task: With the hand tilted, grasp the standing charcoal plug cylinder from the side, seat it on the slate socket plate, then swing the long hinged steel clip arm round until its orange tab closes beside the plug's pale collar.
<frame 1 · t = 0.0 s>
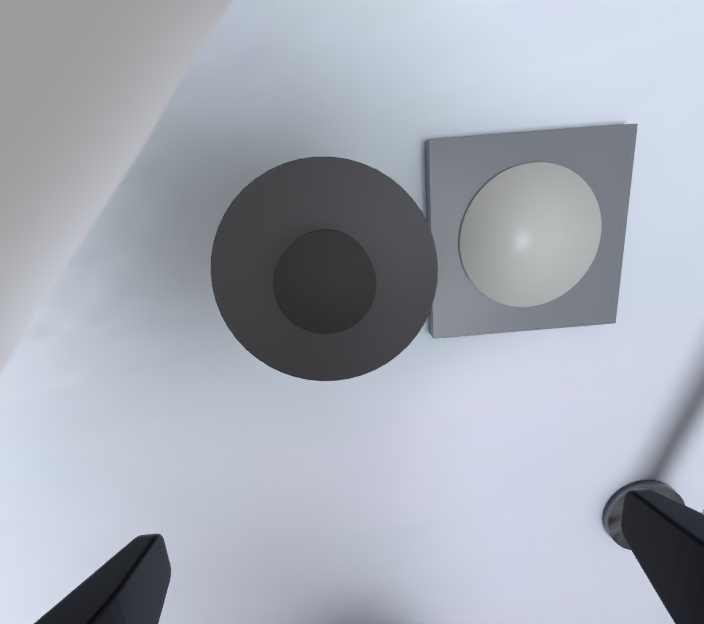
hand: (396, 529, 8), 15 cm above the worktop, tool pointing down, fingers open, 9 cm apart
socket: (521, 236, 21), on the worktop
grey flanged disc: (640, 512, 26), on the worktop
plug: (331, 232, 21), on the worktop
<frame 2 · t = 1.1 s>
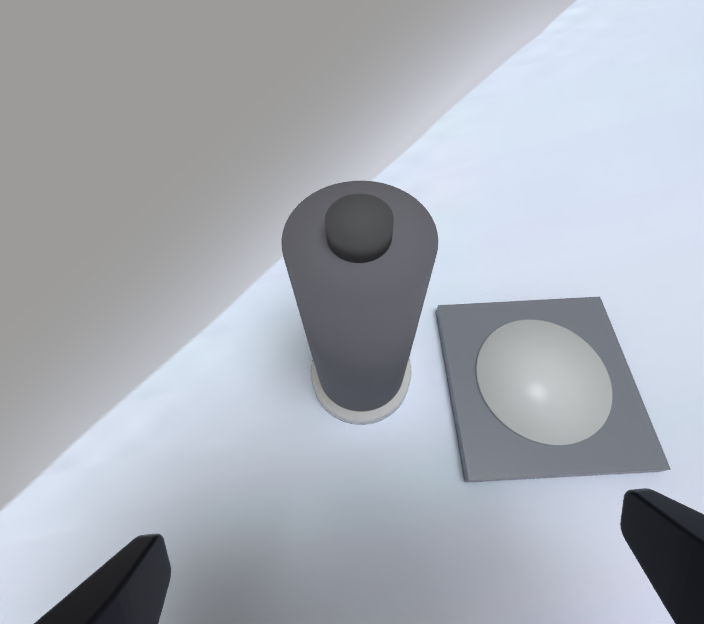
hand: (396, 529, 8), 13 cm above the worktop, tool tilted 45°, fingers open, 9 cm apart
socket: (536, 383, 23), on the worktop
plug: (361, 376, 23), on the worktop
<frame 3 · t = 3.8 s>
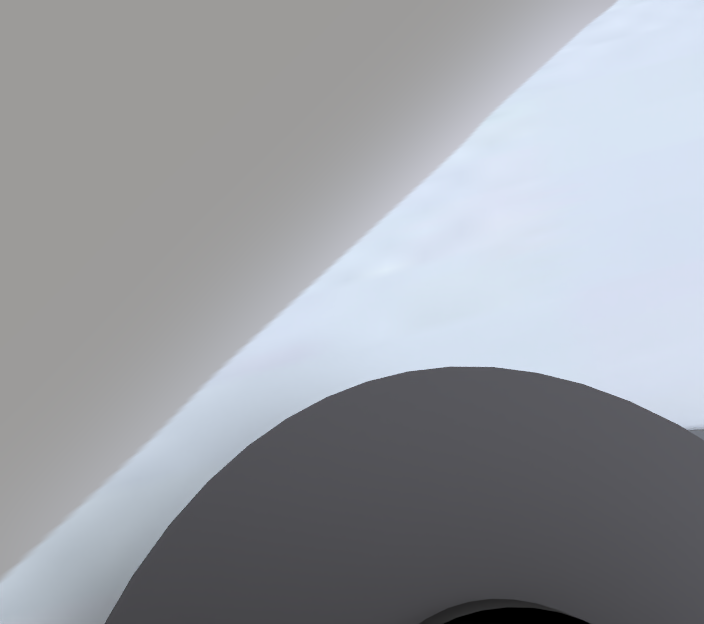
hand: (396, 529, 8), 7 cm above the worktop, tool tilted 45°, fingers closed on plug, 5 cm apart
plug: (387, 580, 13), on the worktop, touching gripper
when the fingers open (8 cm above the worktop, at t = 7.1 s): plug stays where it is, resting on socket.
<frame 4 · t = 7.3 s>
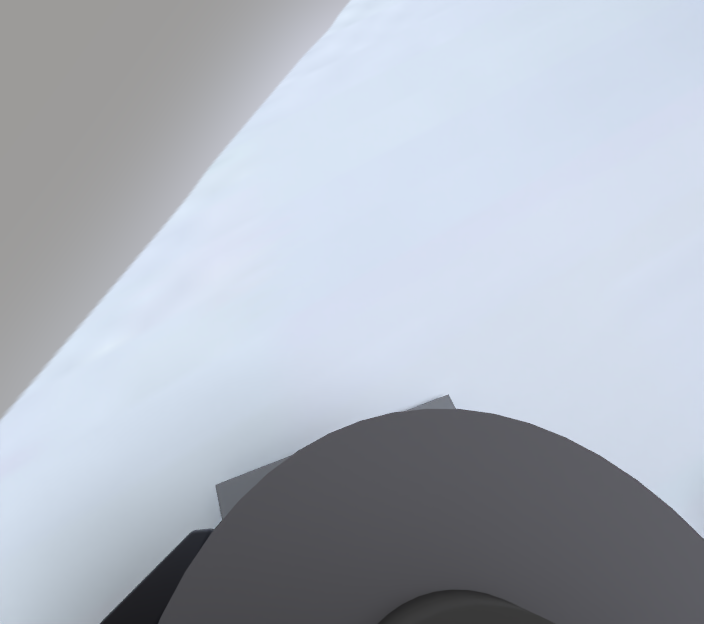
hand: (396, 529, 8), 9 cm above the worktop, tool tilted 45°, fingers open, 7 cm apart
socket: (384, 573, 14), on the worktop
plug: (386, 581, 14), point 1 cm above the worktop, touching socket
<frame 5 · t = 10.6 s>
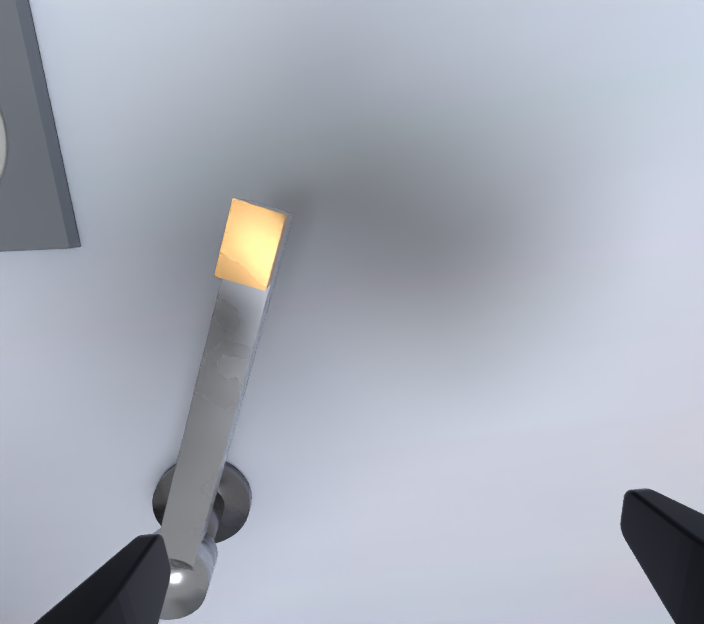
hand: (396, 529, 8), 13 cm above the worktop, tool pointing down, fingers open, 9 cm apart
clip arm: (207, 435, 15), point 5 cm above the worktop, hinge at -45.0°
grey flanged disc: (204, 497, 22), on the worktop
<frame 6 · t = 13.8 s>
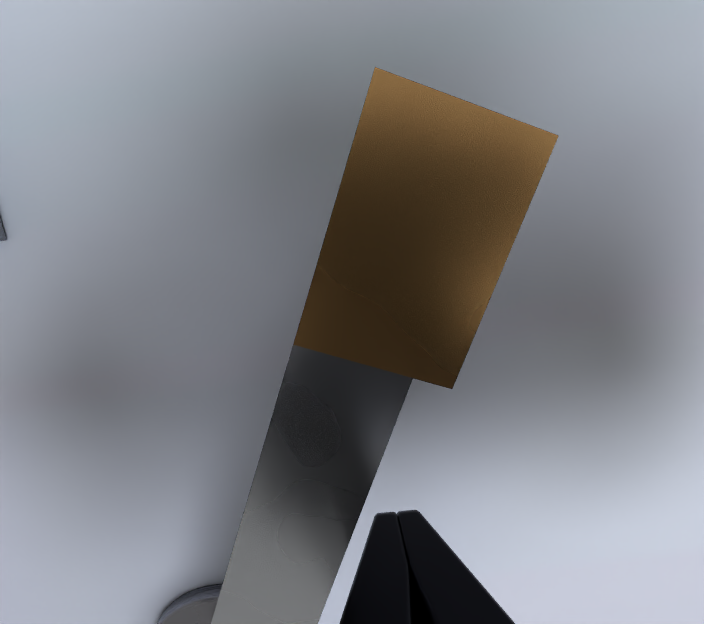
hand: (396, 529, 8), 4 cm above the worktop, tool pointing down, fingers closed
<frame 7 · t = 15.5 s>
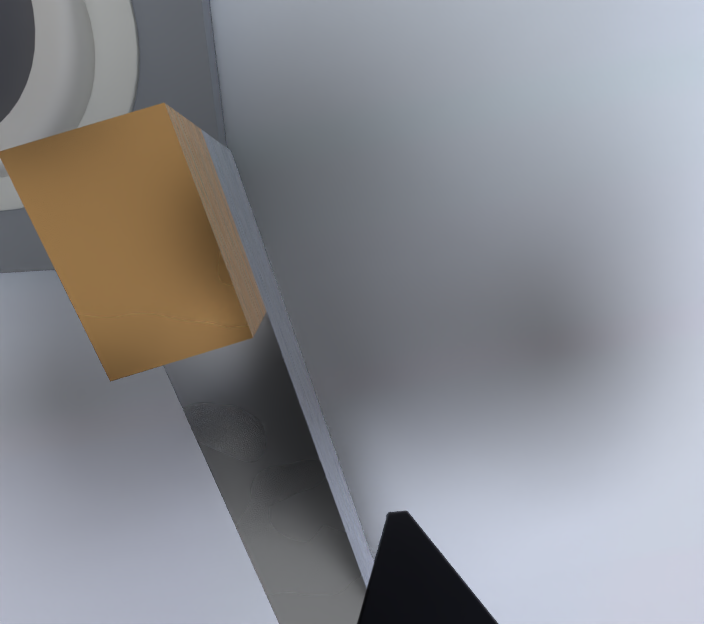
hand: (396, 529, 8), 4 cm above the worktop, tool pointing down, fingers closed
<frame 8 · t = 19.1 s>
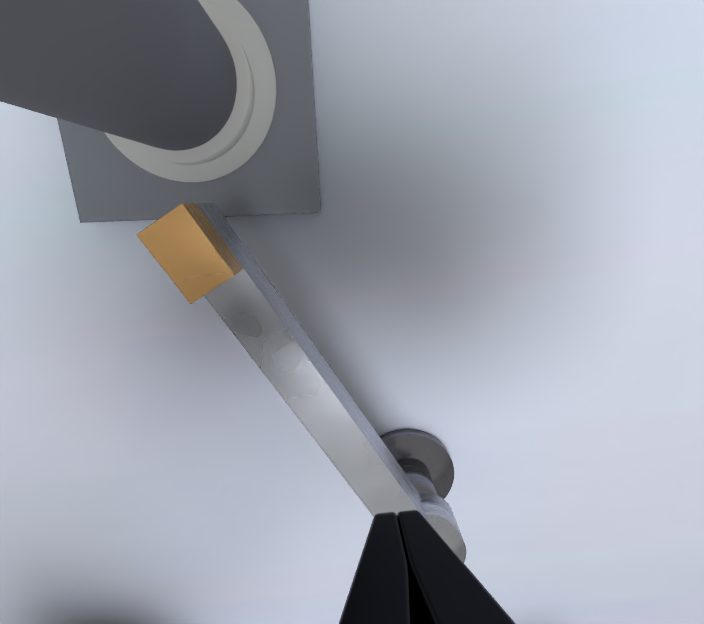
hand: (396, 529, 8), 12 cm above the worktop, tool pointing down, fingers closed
socket: (190, 90, 16), on the worktop
clip arm: (331, 422, 15), point 5 cm above the worktop, hinge at 5.0°
grey flanged disc: (405, 470, 21), on the worktop
plug: (180, 87, 15), point 1 cm above the worktop, touching socket
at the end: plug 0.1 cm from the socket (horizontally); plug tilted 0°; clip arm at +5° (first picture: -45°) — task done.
